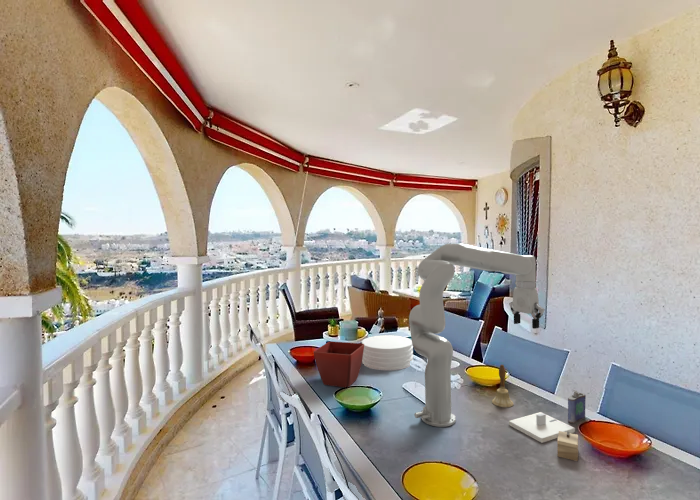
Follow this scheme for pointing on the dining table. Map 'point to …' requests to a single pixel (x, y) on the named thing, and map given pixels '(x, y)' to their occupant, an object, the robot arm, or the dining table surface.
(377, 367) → the plate stack
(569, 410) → the flask
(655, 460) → the dining table surface
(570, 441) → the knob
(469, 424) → the dining table surface
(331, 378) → the plant pot
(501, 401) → the hand bell
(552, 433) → the shaft board
